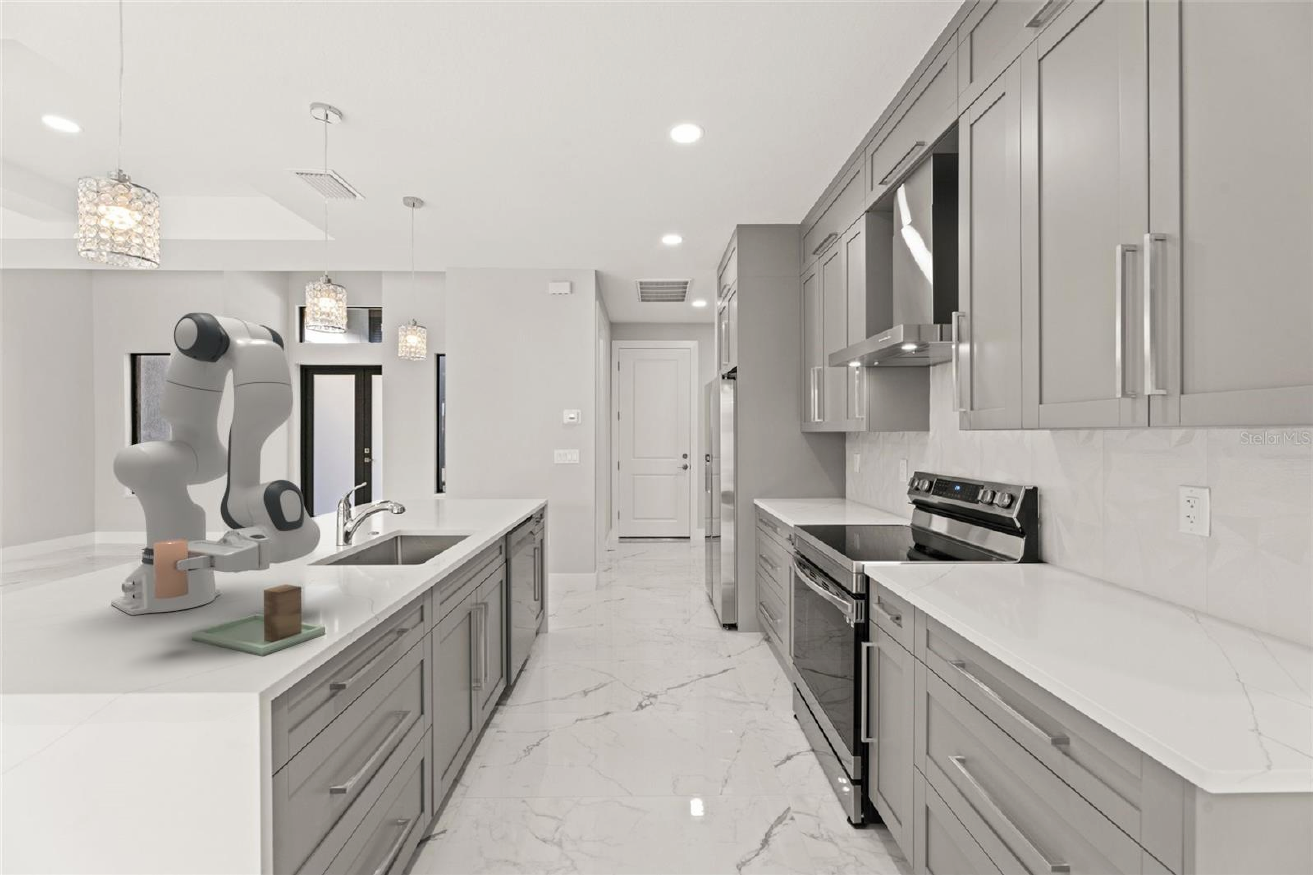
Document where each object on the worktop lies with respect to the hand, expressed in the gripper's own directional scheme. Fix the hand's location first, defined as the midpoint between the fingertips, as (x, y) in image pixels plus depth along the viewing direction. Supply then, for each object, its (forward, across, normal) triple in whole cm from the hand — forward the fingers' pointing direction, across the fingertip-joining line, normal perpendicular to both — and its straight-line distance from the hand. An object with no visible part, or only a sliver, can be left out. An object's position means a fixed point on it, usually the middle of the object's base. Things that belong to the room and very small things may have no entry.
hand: (165, 564), depth 113 cm
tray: (-13, +7, +17) cm, 22 cm away
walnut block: (-13, +14, +16) cm, 25 cm away
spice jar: (-1, 0, +6) cm, 6 cm away
